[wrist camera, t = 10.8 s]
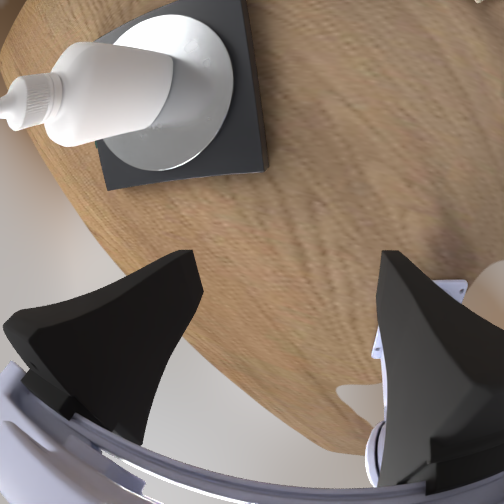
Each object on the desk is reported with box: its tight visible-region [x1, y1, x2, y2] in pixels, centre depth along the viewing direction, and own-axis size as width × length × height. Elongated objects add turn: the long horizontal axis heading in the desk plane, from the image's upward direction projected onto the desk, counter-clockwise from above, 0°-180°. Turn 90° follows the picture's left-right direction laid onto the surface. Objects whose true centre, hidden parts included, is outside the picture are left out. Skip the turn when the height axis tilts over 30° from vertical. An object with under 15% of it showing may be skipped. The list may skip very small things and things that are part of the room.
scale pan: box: [103, 14, 236, 171], centre depth 16 cm, size 12×12×1 cm
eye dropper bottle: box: [0, 42, 173, 147], centre depth 10 cm, size 4×6×12 cm
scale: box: [94, 0, 269, 191], centre depth 17 cm, size 14×14×2 cm
